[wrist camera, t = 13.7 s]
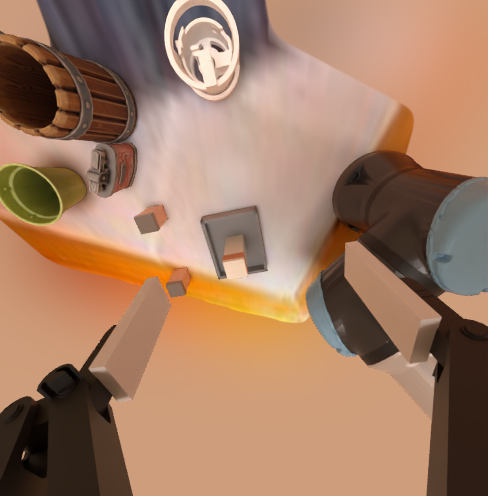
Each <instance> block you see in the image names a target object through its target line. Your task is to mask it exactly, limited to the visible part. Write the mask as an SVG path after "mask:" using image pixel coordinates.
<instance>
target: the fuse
mask: <svg viewBox="0 0 488 496" xmlns="http://www.w3.org/2000/svg"><path fill="white" fill-rule="evenodd" d="M222 261H223V266H224V269H225V272H226V276H227V279H228V280H229V279H234V278H240V277H246V276H248V267H247V252H246V245H245V241H244V237H243V234H241V235H236V236H231V237H226V242H225V249H224V256H223V258H222Z"/></svg>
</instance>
